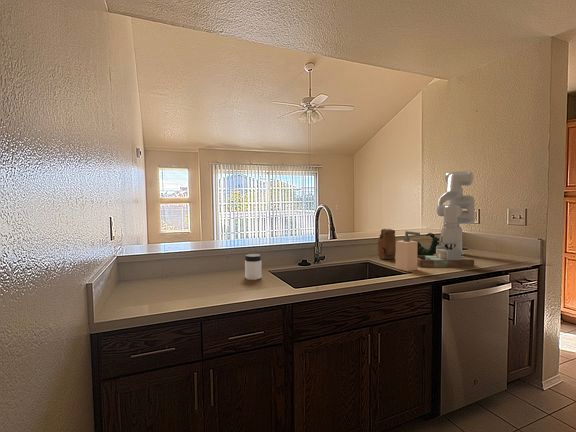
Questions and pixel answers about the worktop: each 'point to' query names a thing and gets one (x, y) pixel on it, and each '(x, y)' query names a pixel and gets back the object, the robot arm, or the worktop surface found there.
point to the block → (387, 244)
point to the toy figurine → (432, 250)
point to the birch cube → (441, 253)
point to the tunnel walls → (451, 253)
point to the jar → (253, 266)
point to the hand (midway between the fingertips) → (449, 255)
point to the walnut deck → (443, 262)
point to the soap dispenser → (406, 253)
